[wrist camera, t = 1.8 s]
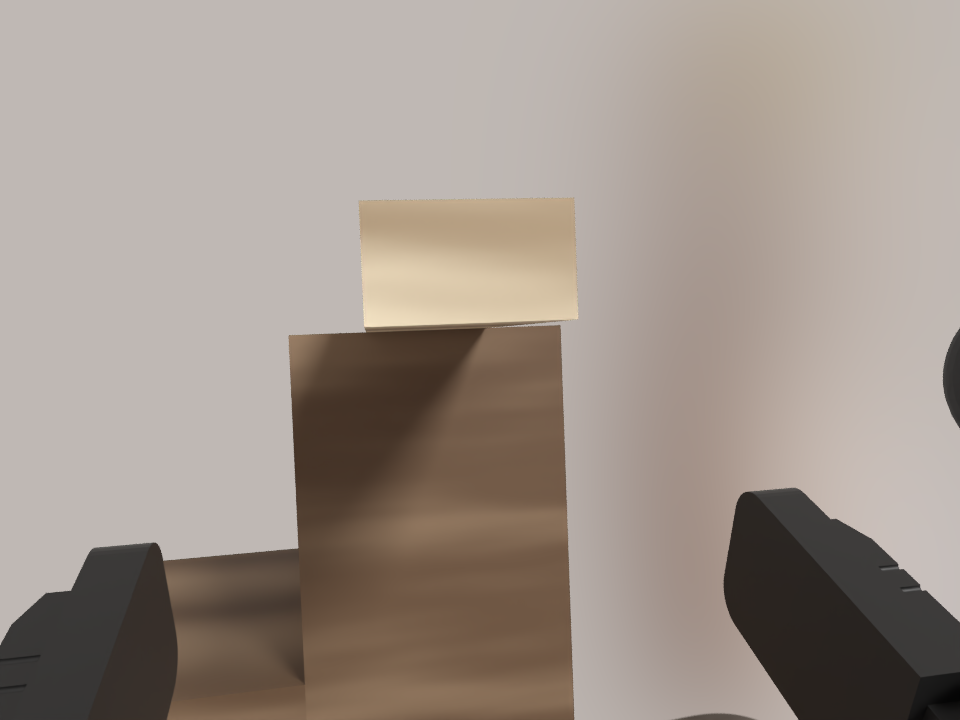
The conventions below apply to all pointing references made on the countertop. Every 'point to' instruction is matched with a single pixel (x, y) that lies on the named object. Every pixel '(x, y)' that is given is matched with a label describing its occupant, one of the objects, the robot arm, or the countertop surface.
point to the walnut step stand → (399, 543)
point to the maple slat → (467, 263)
